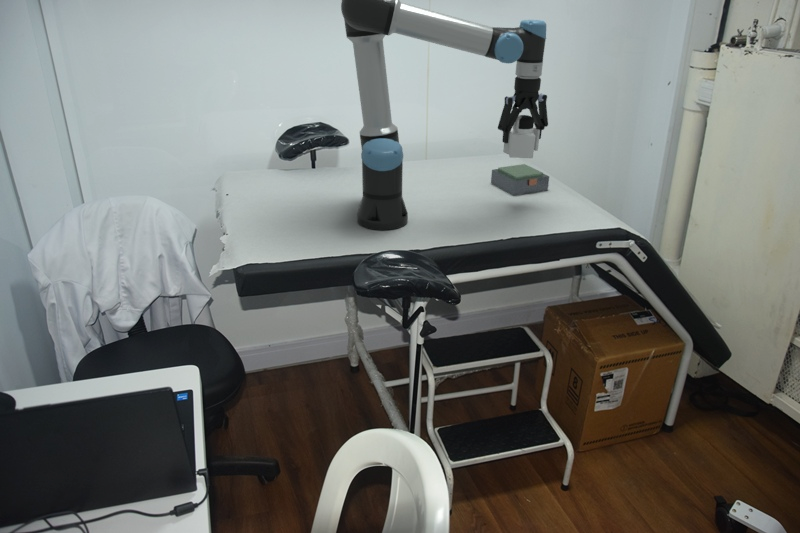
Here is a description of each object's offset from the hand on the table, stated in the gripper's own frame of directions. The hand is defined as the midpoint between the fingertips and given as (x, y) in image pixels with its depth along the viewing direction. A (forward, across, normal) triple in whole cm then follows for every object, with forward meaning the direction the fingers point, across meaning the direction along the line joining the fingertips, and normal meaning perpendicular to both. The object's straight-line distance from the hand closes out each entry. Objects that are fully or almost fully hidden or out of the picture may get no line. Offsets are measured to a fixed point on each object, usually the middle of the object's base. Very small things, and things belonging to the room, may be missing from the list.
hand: (520, 151), depth 190 cm
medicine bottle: (+1, 0, 0) cm, 1 cm away
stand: (+17, +11, +14) cm, 25 cm away
